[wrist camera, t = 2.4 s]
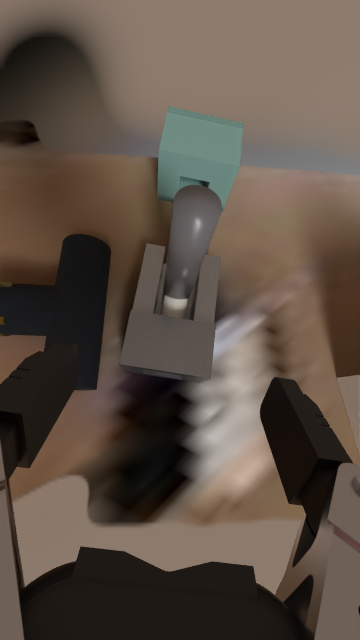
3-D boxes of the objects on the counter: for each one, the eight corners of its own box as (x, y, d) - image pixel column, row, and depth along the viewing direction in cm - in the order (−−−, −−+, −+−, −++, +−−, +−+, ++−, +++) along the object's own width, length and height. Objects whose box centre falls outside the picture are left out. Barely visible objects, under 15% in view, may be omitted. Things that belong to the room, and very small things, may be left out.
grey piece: (151, 354, 26) (153, 305, 13) (176, 215, 32) (195, 83, 19) (180, 359, 27) (210, 315, 13) (199, 219, 32) (234, 92, 19)
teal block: (156, 198, 34) (158, 149, 27) (165, 160, 36) (168, 106, 30) (222, 211, 35) (239, 166, 28) (226, 173, 37) (243, 123, 30)
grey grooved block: (124, 371, 27) (119, 364, 22) (147, 263, 31) (146, 237, 26) (199, 382, 27) (210, 378, 22) (211, 275, 31) (223, 251, 26)
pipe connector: (-63, 385, 20) (-16, 225, 24) (-21, 389, 25) (12, 255, 29) (90, 387, 21) (107, 235, 26) (100, 390, 26) (113, 262, 31)
